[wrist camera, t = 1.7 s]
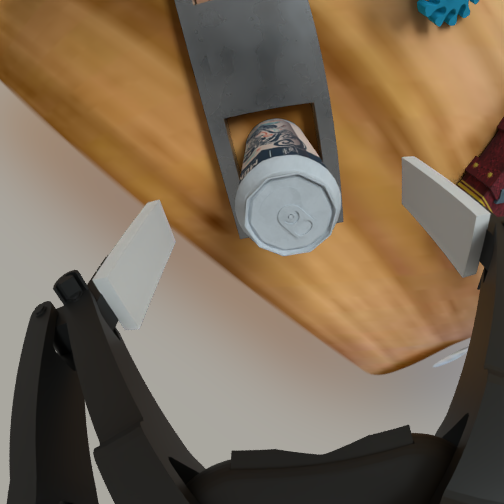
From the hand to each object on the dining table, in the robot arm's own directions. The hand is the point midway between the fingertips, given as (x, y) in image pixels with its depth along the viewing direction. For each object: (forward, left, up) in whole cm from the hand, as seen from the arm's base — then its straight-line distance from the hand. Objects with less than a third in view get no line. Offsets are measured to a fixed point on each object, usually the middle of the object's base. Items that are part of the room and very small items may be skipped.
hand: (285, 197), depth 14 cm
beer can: (0, 0, -9) cm, 9 cm away
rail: (-8, 0, -9) cm, 12 cm away
